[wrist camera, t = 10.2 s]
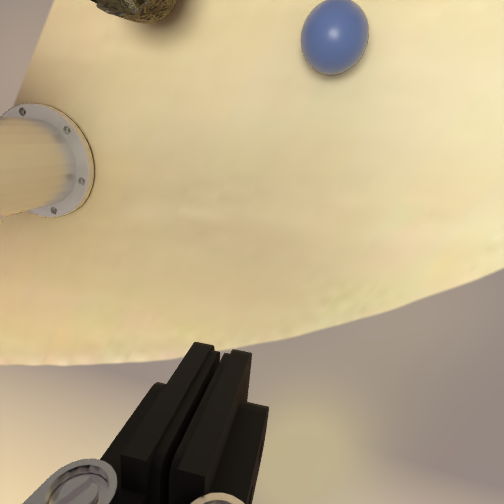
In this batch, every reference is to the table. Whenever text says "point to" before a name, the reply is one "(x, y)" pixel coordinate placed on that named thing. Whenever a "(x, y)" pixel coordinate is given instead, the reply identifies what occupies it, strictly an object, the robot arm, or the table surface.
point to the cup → (137, 9)
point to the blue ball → (334, 36)
